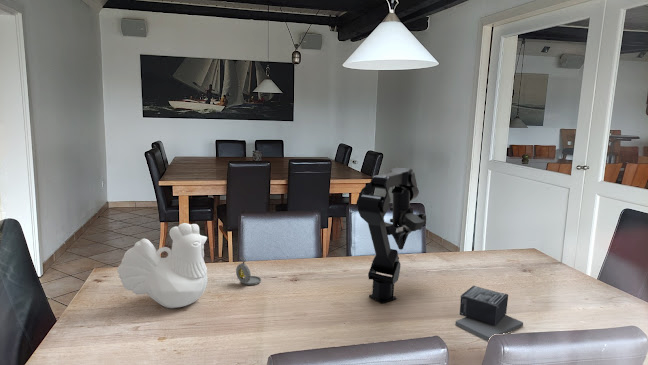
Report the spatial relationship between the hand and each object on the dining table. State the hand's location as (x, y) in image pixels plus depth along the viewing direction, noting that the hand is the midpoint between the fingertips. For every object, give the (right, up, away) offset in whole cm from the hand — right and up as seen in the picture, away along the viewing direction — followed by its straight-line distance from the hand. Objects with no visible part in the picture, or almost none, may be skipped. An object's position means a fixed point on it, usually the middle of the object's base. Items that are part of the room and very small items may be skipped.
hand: (400, 249), depth 150 cm
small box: (+16, -12, -19) cm, 28 cm away
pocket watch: (-52, -12, 0) cm, 54 cm away
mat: (+21, -18, -26) cm, 37 cm away
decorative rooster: (-75, -14, -17) cm, 78 cm away
